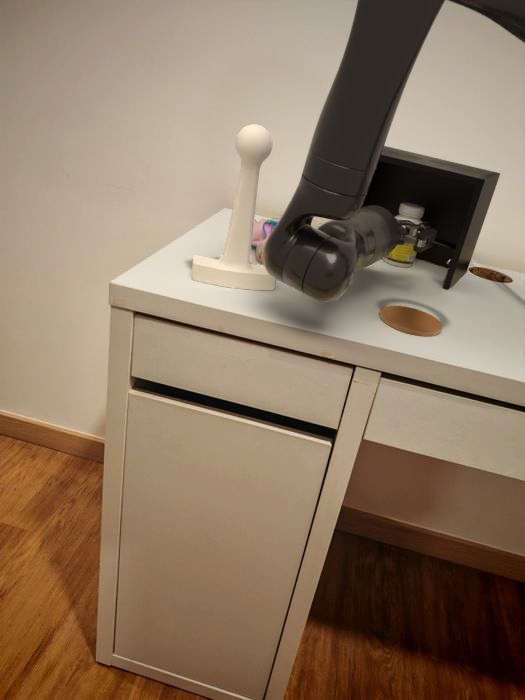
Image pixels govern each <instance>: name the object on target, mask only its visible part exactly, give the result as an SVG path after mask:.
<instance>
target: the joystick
mask: <svg viewBox="0 0 525 700" xmlns="http://www.w3.org/2000/svg"><path fill="white" fill-rule="evenodd" d="M273 145H274V144H273V138H272V135H271V133H270V132H269V130H268V129H267V128H265V127H264V126H262V125H261V124H256V123H252V124H248V125H245V126H243V127H242V128H241V129H240V130H239V131H238V133H237V136H236V138H235V149H236V152H237V154H238V156H239V158H240V163H241V164H240V171H239V176H238V181H237V186H236V190H235V196H234V199H233V200H234V201H233V206H232V210H231V215H230V221H229V225H228V231H227V236H226V241H225V245H224V251H223V253H221V254H220V255H219V258H212V257H206V256H203V255H200V254H198V255H197V254H195V255H193V258H192V266H191V275H190V276H191V277H190V279H191V280H192V281H195V282H200V283H203V284H207V285H211V286H212V285H213V286H218V287H225V288H231V289H239V290H250V291H274V290H275V286H276V281H277V279H275V278H273V277H272V276H271V275H270V274H269V273H268V272H267V271H266V269H265V266H264V264H261V265H260V264H254V263H251V251H252V245H251V244H252V234H253V225H254V219H255V215H256V205H257V197H258V186H259V177H260V169H261V166H262V164H263V163H264V162H265V161H266V160H267V159H268V157H270V155H271V153H272V150H273Z"/></svg>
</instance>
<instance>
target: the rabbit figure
mask: <svg viewBox="0 0 525 700" xmlns="http://www.w3.org/2000/svg"><path fill="white" fill-rule="evenodd" d="M270 220H271V219H269V218H268V219H260V220H259V221H257V219H256V218H254V225H253V234H252V244H251V246H254V247H255V257H256V260H258V263H259V265H262V263H264V262H263V250H264V246H265V243H266V241H267V239H268V237H269V235H270V234H271V232H272V231H273V229H272V224H271V221H270ZM258 222H259V223H258Z"/></svg>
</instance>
